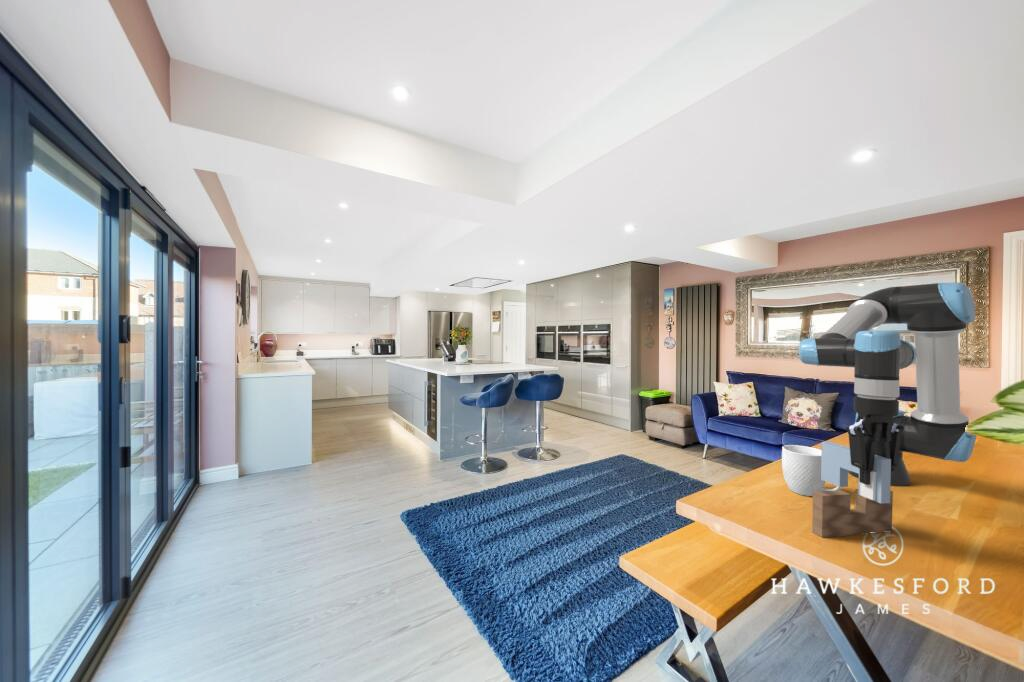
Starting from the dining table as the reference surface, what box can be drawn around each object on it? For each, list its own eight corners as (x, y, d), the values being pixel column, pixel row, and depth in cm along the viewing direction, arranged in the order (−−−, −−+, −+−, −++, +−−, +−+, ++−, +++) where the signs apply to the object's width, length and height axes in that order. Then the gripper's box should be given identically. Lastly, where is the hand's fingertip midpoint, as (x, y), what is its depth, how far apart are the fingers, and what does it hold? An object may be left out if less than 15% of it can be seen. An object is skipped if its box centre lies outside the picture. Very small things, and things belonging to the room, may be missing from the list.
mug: (849, 499, 109) (849, 455, 109) (836, 508, 103) (837, 462, 103) (789, 482, 122) (790, 442, 121) (775, 489, 116) (775, 448, 115)
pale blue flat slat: (820, 479, 97) (821, 441, 97) (828, 479, 98) (829, 441, 98) (881, 503, 84) (882, 459, 83) (890, 502, 84) (891, 459, 84)
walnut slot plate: (880, 526, 94) (881, 487, 93) (891, 531, 91) (892, 491, 91) (812, 532, 91) (813, 491, 90) (821, 537, 88) (822, 496, 88)
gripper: (885, 393, 91) (883, 488, 91) (830, 394, 88) (828, 492, 89) (923, 399, 83) (920, 502, 84) (865, 400, 81) (862, 506, 81)
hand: (873, 496), depth 86 cm, fingers closed on pale blue flat slat, 2 cm apart
